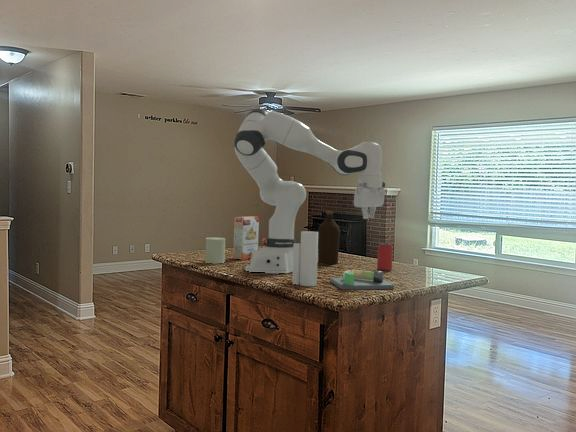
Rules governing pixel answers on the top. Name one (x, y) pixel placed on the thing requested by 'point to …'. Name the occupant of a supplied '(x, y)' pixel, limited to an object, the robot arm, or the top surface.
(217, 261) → the can
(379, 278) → the spice jar
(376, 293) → the top surface
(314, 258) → the candle
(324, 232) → the olive oil
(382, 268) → the beer can
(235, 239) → the cracker box
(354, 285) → the gauge board
